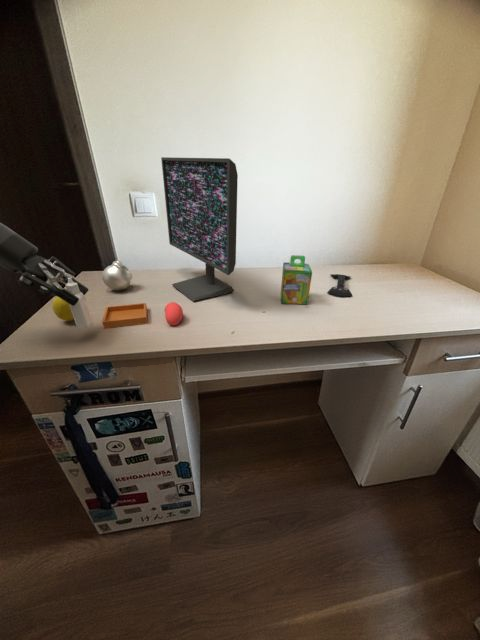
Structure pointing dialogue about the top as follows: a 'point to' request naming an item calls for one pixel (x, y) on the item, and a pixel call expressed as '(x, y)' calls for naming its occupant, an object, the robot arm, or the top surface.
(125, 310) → the amber tray
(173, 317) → the red kidney bean shape
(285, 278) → the chalk box
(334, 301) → the top surface
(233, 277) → the top surface
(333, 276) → the dark flared piece
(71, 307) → the eye dropper bottle
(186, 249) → the computer monitor
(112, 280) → the silver rounded lump
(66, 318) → the lemon
